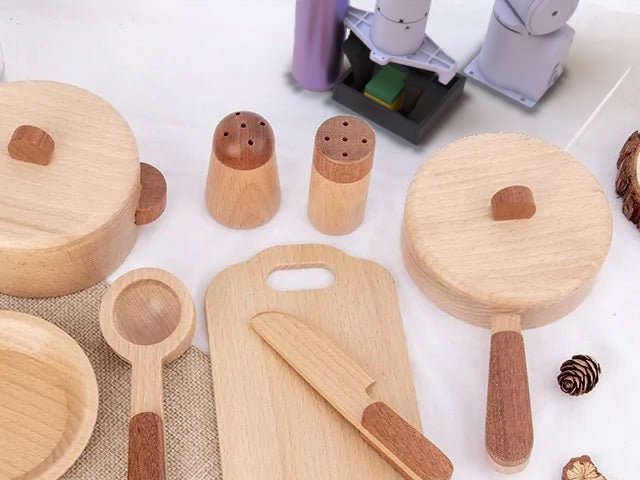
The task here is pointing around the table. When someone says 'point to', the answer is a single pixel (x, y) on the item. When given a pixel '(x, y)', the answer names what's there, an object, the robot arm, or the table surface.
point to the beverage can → (319, 42)
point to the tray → (417, 122)
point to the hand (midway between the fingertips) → (385, 98)
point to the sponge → (387, 88)
